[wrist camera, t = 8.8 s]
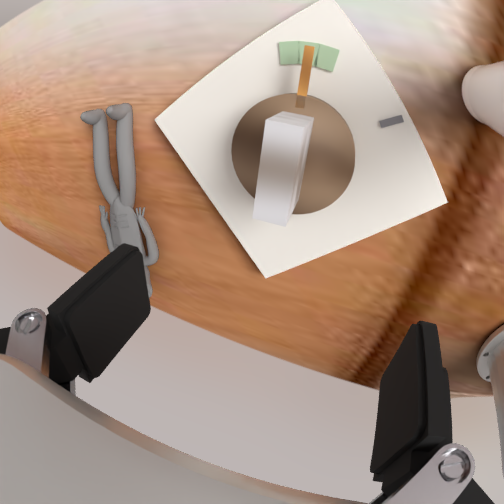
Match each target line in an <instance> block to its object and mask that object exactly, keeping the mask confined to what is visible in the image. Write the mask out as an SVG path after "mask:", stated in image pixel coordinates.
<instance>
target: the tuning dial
mask: <svg viewBox="0 0 504 504" xmlns="http://www.w3.org/2000/svg"><path fill="white" fill-rule="evenodd" d="M314 49H315V47H313V46H307V45H305V46H304V53H303V59H302V66H301V72H300V79H299V85H298V91H297V93H288V94H281V95H277V96H273V97H270V98H267V99H265V100H263V101H260V102H259V103H257V104H256V105H254V106H253V107H252V108H251V109H249V110H248V111H247V112H246V113H245V115H244V116H243V117H242V118H241V120H240V121H239V123H238V125H237V127H236V129H235V132H234V135H233V139H232V147H231V154H232V162H233V166H234V169H235V172H236V175H237V177H238V179H239V181H240V182H241V184H242V185H243V187H244V188H245V189H246V191H247V192H248V193H249V194H250V195H251V196H252V197H253V198H254V199H255V201H254V209H253V216H252V218H253V219H257V220H261V221H265V222H268V223H272V224H276V225H280V226H284V227H286V225H287V223H288V221H289V219H290V216H291V214H296V215H298V214H308V213H313V212H316V211H319V210H322V209H324V208H326V207H328V206H329V205H331V204H332V203H334V202H335V201H336V200H337V199H338V198H339V197H340V196H341V195H342V194H343V193H344V191H345V190H346V188H347V187H348V185H349V183H350V181H351V179H352V176H353V172H354V167H355V143H354V139H353V135H352V133H351V130H350V128H349V126H348V124H347V123H346V121H345V120H344V118H343V117H342V116H341V114H340V113H339V112H338V111H337V110H336V109H335V108H333V107H332V106H331V105H329V104H328V103H326V102H325V101H323V100H321V99H319V98H316V97H314V96H310V95H307V93H308V87H309V81H310V75H311V68H312V62H313V56H314Z"/></svg>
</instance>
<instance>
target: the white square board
mask: <svg viewBox="0 0 504 504" xmlns="http://www.w3.org/2000/svg"><path fill="white" fill-rule="evenodd" d="M305 45H307V46H313V47H315V49H314V56H313V62H312V68H311V75H310V81H309V87H308V93H307V95H310V96H314V97H316V98H319V99H321V100H323V101H325V102H326V103H328V104H329V105H331V106H332V107H333V108H335V109H336V110H337V111H338V112H339V113H340V114H341V116H342V117H343V118H344V120H345V121H346V123H347V124H348V126H349V128H350V130H351V133H352V135H353V139H354V143H355V167H354V172H353V176H352V179H351V181H350V183H349V185H348V187H347V188H346V190H345V191H344V193H343V194H342V195H341V196H340V197H339V198H338V199H337V200H336V201H335V202H334V203H332V204H331V205H329V206H328V207H326V208H324V209H322V210H319V211H316V212H313V213H308V214H298V215H296V214H291V216H290V219H289V221H288V223H287V225H286V227H284V226H280V225H276V224H272V223H268V222H265V221H261V220H257V219H253V218H252V216H253V209H254V201H255V199H254V198H253V197H252V196H251V195H250V194H249V193H248V192H247V191H246V189H245V188H244V187H243V185H242V184H241V182H240V181H239V179H238V177H237V175H236V172H235V169H234V166H233V162H232V154H231V147H232V139H233V135H234V132H235V129H236V127H237V125H238V123H239V121H240V120H241V118H242V117H243V116H244V115H245V113H246V112H247V111H248V110H249V109H251V108H252V107H253V106H254V105H256V104H257V103H259V102H260V101H263V100H265V99H267V98H270V97H273V96H277V95H281V94H288V93H297V91H298V85H299V79H300V72H301V66H302V59H303V53H304V46H305ZM155 121H156V123H157V124H158V126H159V127H160V129H161V130H162V131H163V133H164V134H165V136H166V137H167V139H168V140H169V141H170V143H171V144H172V146H173V147H174V149H175V150H176V151H177V153H178V154H179V156H180V157H181V159H182V160H183V161H184V163H185V164H186V166H187V167H188V169H189V170H190V172H191V173H192V174H193V176H194V177H195V179H196V180H197V181H198V183H199V184H200V186H201V187H202V189H203V190H204V191H205V193H206V194H207V196H208V197H209V199H210V200H211V201H212V203H213V204H214V206H215V207H216V209H217V210H218V211H219V213H220V214H221V216H222V217H223V219H224V220H225V221H226V223H227V224H228V226H229V227H230V229H231V230H232V231H233V233H234V234H235V236H236V237H237V238H238V240H239V241H240V243H241V244H242V246H243V247H244V248H245V250H246V251H247V253H248V254H249V256H250V257H251V258H252V260H253V261H254V263H255V264H256V265H257V267H258V268H259V270H260V271H261V273H262V274H263V275H264V277H265V278H268V277H270V276H273V275H275V274H278V273H281V272H283V271H286V270H288V269H291V268H293V267H296V266H298V265H301V264H303V263H306V262H308V261H311V260H313V259H316V258H318V257H320V256H323V255H325V254H328V253H330V252H333V251H335V250H338V249H340V248H342V247H345V246H347V245H350V244H352V243H355V242H357V241H359V240H362V239H364V238H367V237H369V236H371V235H374V234H376V233H378V232H381V231H383V230H386V229H388V228H390V227H393V226H395V225H397V224H400V223H402V222H404V221H407V220H409V219H411V218H413V217H416V216H418V215H420V214H423V213H425V212H427V211H430V210H432V209H434V208H436V207H439V206H441V205H443V204H445V203H448V202H447V200H446V197H445V194H444V192H443V189H442V186H441V184H440V181H439V179H438V176H437V174H436V172H435V169H434V167H433V164H432V162H431V160H430V158H429V155H428V153H427V151H426V149H425V146H424V144H423V142H422V140H421V138H420V136H419V134H418V132H417V130H416V128H415V126H414V124H413V122H412V120H411V118H410V116H409V114H408V112H407V110H406V108H405V106H404V104H403V103H402V101H401V99H400V97H399V95H398V93H397V92H396V90H395V88H394V86H393V85H392V83H391V81H390V80H389V78H388V76H387V75H386V73H385V71H384V70H383V68H382V66H381V65H380V63H379V62H378V60H377V59H376V57H375V55H374V54H373V52H372V51H371V49H370V48H369V46H368V45H367V43H366V42H365V41H364V39H363V38H362V36H361V35H360V33H359V32H358V31H357V29H356V28H355V26H354V25H353V24H352V22H351V21H350V20H349V18H348V17H347V16H346V14H345V13H344V12H343V10H342V9H341V8H340V7H339V5H338V4H337V3H336V2H335V0H320V1H318V2H316V3H314V4H312V5H310V6H309V7H307V8H305V9H303V10H302V11H300V12H298V13H297V14H295V15H293V16H291V17H290V18H288V19H287V20H285V21H283V22H282V23H280V24H278V25H277V26H275V27H274V28H272V29H271V30H269V31H267V32H266V33H264V34H263V35H261V36H260V37H258V38H257V39H255V40H254V41H252V42H251V43H250V44H248V45H247V46H245V47H244V48H242V49H241V50H240V51H238V52H237V53H235V54H234V55H233V56H231V57H230V58H229V59H227V60H226V61H224V62H223V63H222V64H220V65H219V66H218V67H217V68H215V69H214V70H213V71H211V72H210V73H209V74H208V75H206V76H205V77H204V78H202V79H201V80H200V81H199V82H197V83H196V84H195V85H194V86H193V87H191V88H190V89H189V90H188V91H187V92H185V93H184V94H183V95H182V96H181V97H180V98H178V99H177V100H176V101H175V102H174V103H173V104H171V105H170V106H169V107H168V108H167V109H166V110H165V111H164V112H162V113H161V114H160V115H159V116H158V117H157V118H156V119H155Z"/></svg>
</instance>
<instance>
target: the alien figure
mask: <svg viewBox="0 0 504 504" xmlns="http://www.w3.org/2000/svg"><path fill="white" fill-rule="evenodd" d="M106 114H107V115H108V116H109V117H110V118H111V119H113V120H117V129H116V148H117V160H118V170H119V182H120V192H119V190H118V189H117V187H116V185H115V182H114V179H113V176H112V172H111V167H110V156H109V137H108V125H107V118H106ZM106 114H105V112H104V111H103V110H102V109H96V110H90V111H86V112H83V113H82V114H81V120H82V121H84V122H85V123H87V124H90V125H93V158H94V169H95V174H96V179H97V181H98V184H99V187H100V189H101V191H102V194H103V195H104V197H105V199H106V200H107V202H108V203H109V204H110V224H111V227H110V224H109V222H108V219H107V217H108V212H106V213H105V206H101V205H100V206H99V208H100V212H101V225H102V228H103V230H104V232H105V234H106V239H107V244H108V248H109V251H110V253H111V252H112V251H114V250H115V249H116V248H117V247H118V246H120V245H121V244H123V243H126V244H129V245H133V246H136V247H138V248H139V250H140V252H141V253H142V255H143V262H144V269H145V276H146V282H147V289H148V295H149V298H150V297H151V295H152V286H151V281H150V273H149V269H148V267H147V266H149V265H153V264H154V263H156V262H157V260H158V257H159V250H158V246H157V243H156V240H155V237H154V235H153V232H152V230H151V228H150V226H149V224H148V222H147V221H146V219H145V218H144V217H143V216H144V211H145V207H144V208H143V212H142V215H141V207H139V213H138V208H136V213H137V215H136V213H135V212H134V209H133V208H134V203H135V194H136V169H135V157H134V147H133V111H132V106H131V105H130V104H129V103H123V104H121V105H119V104H118V105H112V106H109V107H108V108H107V109H106ZM137 216H138V217H137ZM138 222H139V224H140V227H141V229H142V231H143V233H144V235H145V237H146V242H147V249H148V256H146V253H145V249H144V245H143V241H142V237H141V232H140V228H139V224H138Z"/></svg>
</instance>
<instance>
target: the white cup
mask: <svg viewBox="0 0 504 504" xmlns="http://www.w3.org/2000/svg"><path fill="white" fill-rule="evenodd" d="M462 97H463V101H464V104H465V106H466V108H467V109H468V111H469V112H470V114H471V115H472V116H473V117H474V118H475V119H477V120H478V121H479V122H481V123H483V124H485V125H487V126H489V127H490V128H492V129H493V130H494V131H496V132H497V133H498V134H500V135H501V136H502V137H504V61H500V62H496V63H492V64H488V65H478V66H475V67H473V68H472V69H470V70H469V71H468V72H467V73H466V75H465V77H464V79H463V82H462Z"/></svg>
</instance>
